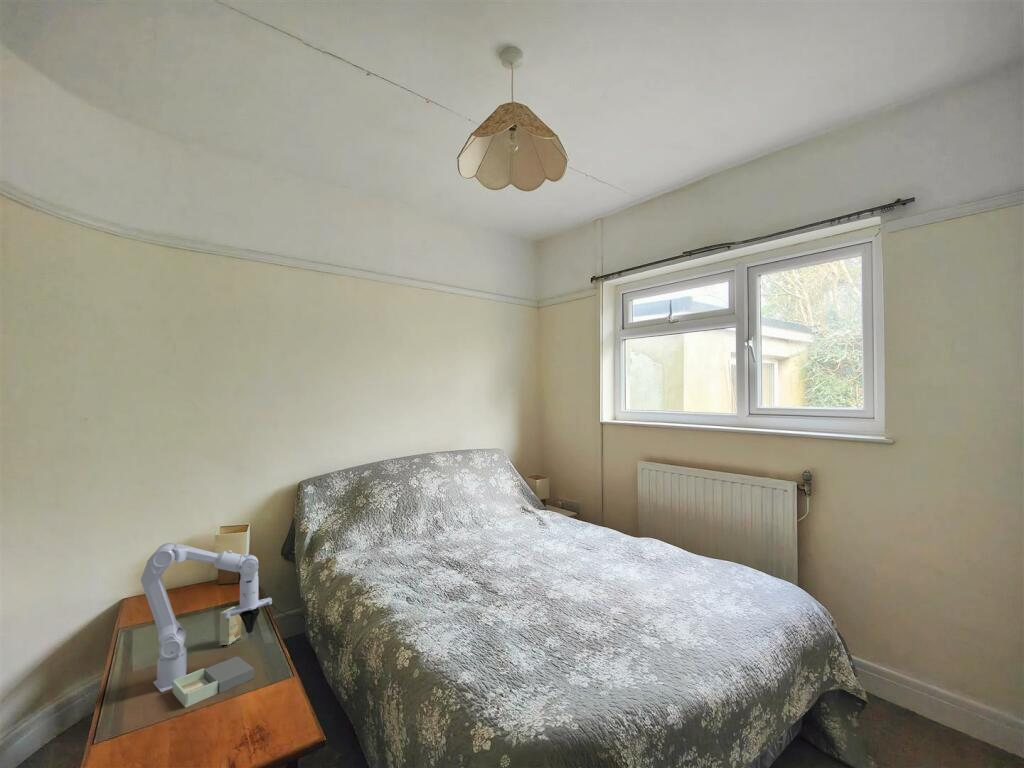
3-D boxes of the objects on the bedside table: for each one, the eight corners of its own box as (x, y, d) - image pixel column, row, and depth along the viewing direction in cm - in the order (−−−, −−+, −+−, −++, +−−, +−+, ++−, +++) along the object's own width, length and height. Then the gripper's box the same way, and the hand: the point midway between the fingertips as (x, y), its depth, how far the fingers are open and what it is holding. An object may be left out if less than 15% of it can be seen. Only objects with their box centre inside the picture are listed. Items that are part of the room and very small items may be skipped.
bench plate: (204, 678, 148) (204, 669, 148) (237, 665, 156) (237, 656, 156) (219, 693, 139) (219, 683, 139) (254, 678, 147) (254, 668, 147)
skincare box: (228, 647, 169) (228, 613, 170) (219, 646, 170) (219, 613, 171) (242, 638, 175) (242, 606, 176) (232, 638, 176) (232, 606, 177)
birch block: (198, 679, 143) (198, 686, 143) (179, 687, 139) (179, 693, 139) (203, 684, 140) (203, 691, 140) (183, 692, 136) (183, 699, 136)
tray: (172, 692, 141) (172, 680, 141) (203, 679, 147) (203, 668, 148) (185, 707, 133) (185, 694, 133) (217, 693, 139) (217, 681, 139)
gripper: (230, 601, 151) (230, 643, 149) (275, 587, 162) (275, 626, 161) (222, 597, 155) (222, 637, 154) (267, 583, 166) (267, 621, 165)
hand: (249, 631), depth 158 cm, fingers closed
